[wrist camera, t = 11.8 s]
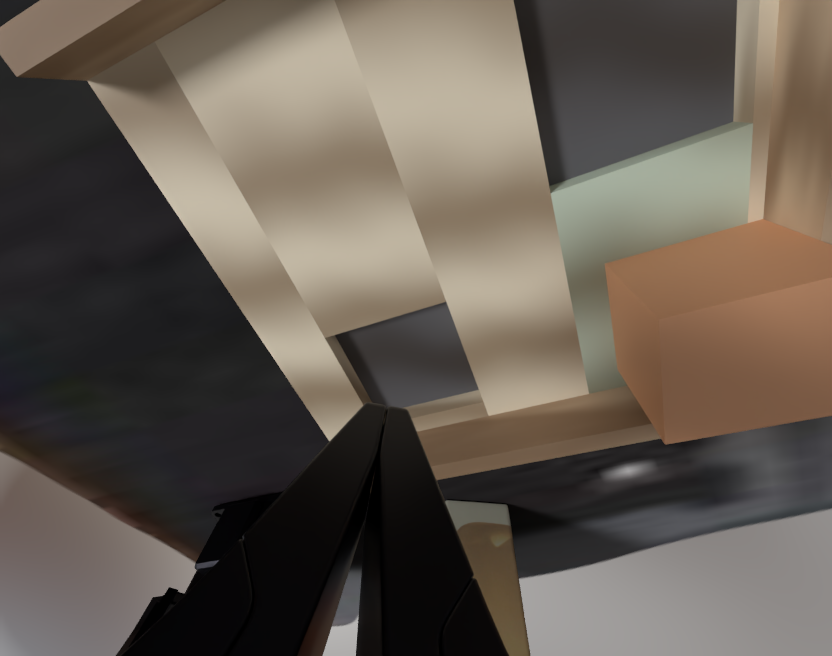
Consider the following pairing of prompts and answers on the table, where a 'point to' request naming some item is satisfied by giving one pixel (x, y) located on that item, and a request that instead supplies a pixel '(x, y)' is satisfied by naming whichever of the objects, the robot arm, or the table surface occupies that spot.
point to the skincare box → (493, 566)
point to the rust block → (726, 330)
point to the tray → (455, 181)
